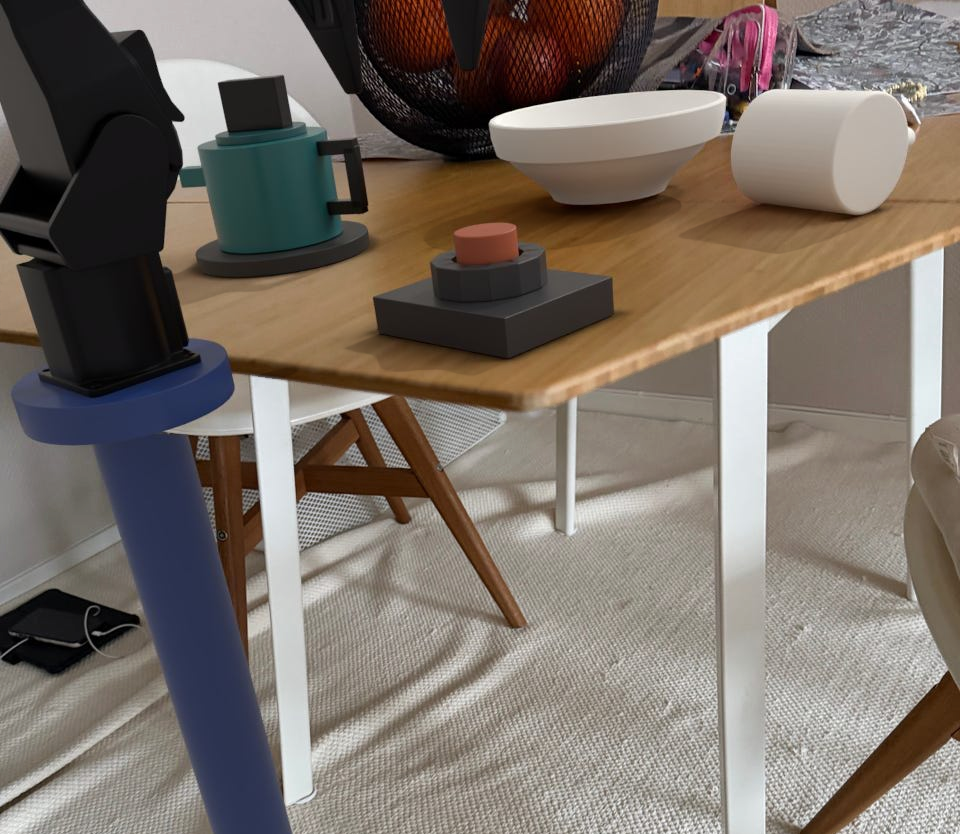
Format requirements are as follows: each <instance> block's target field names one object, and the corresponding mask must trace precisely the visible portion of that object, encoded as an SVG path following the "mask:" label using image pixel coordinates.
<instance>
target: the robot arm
mask: <svg viewBox="0 0 960 834" xmlns="http://www.w3.org/2000/svg"><path fill="white" fill-rule="evenodd" d="M287 1H288V2H289V4H290V6H291V7H292V8H293V10H294V11H295V13H296V14H297V15H298V17H299V18H300V20H301V21H302V23H303V25H304V26H305V28H306V30H307V31H308V33H309V35H310V36H311V38H312V40H313V41H314V43H315V45H316V47H317V48H318V49H319V52H320V54H322V56H323V58H324V60H325V61H326V63H327V65H328V67H329V68H330V70H331V72H332V73H333V76H334V78H335V79H336V80H337V82H338V84H339V86H340V87H341V89H342V90H343V92H344V93H345V94H346V95H359V94H361V93H362V91H363V71H362V70H363V69H362V57H361V50H360V41H359V34H358V33H359V32H358V26H357V19H356V11H355V4H354V3H355V1H354V0H287ZM491 1H492V0H440V2H441V6H442V10H443V14H444V17H445V22H446V27H447V32H448V36H449V38H450V42H451V43H450V44H451V47H452V49H453V52H454V55H455V59H456V61H457V64H458V67H459V69H460V71H461V72H463V73H465V72H466V73H467V72H475V71H476V70H477V69H478V66H479V61H480V57H481V51H482V46H483V41H484V37H485V32H486V31H485V30H486V26H487V20H488V15H489V11H490V5H491ZM0 106H1V109H2V112H3V115H4V118H5V121H6V125H7V127H8V130H9V133H10V136H11V138H12V141H13V144H14V147H15V151H16V153H17V156H18V160H19V162H18V163H17V165H16V167H15V169H14V171H13V172H12V174H11V176H10V177H9V180H8V182H7V183H6V186H5V188H4V190H3V191H2V193H1V195H0V237H1V238H2V239H3V240H4V242H5V244H6V245H7V246H8V248H9V249H10V251H11V252H12V253H13V254H15V255H18V256H27V257H30V258H32V259H30V260H27V261H24V262H21V263H20V262H19V263H17V264H15V267H16V270H17V273H18V276H19V279H20V283H21V286H22V288H23V292H24V295H25V298H26V302H27V305H28V308H29V311H30V313H31V317H32V320H33V323H34V327H35V329H36V332H37V336H38V338H39V342H40V345H41V348H42V351H43V355H44V358H45V360H46V363H47V364H46V365H48V368H44V369H42V370H39V371H38V372H37V373H38V376H39V379H40V380H41V381H43V382H46V383H49V384H52V385H55V386H58V387H61V388H63V389H66V390H69V391H72V392H75V393H78V394H81V395H83V396H86V397H89V398H97V397H102V396H105V395H108V394H111V393H114V392H116V391H119V390H122V389H125V388H128V387H131V386H134V385H137V384H140V383H143V382H146V381H149V380H151V379H154V378H157V377H160V376H163V375H166V374H169V373H172V372H175V371H178V370H181V369H183V368H186V367H189V366H192V365H195V364H198V363H200V362H201V361H202V360H201V356H200V353H199V352H195V351H192V350H188V349H184V347H187V346H188V344H189V338H190V337H189V334H188V329H187V326H186V322H185V318H184V314H183V310H182V306H181V302H180V298H179V294H178V290H177V287H176V281H175V278H174V275H173V271H172V269H171V268H170V267H167V266H164V265H163V263H162V259H161V254H160V253H161V252H163V250H164V249H165V240H166V239H165V236H166V224H167V223H166V222H167V208H168V200H169V199H170V197H171V196H172V194H173V193H174V191H175V190H176V186H177V182H178V178H179V172H180V170H181V168H184V156H183V148H182V144H181V140H180V137H179V134H178V131H177V130H178V129H176V127H175V125H174V123H183V122H184V121H185V114H184V113H183V112H182V111H181V110H180V109H179V108H178V106H177V105H176V104H175V103H174V101H172V99H171V97H170V95H169V94H168V92H167V90H166V88H165V86H164V84H163V81H162V78H161V75H160V70H159V68H158V64H157V60H156V56H155V52H154V50H153V47H152V45H151V43H150V41H149V38H148V36H147V34H146V33H145V31H144V30H142V29H131V30H123V31H122V30H121V31H113V32H110V31H109V30H108V28H107V27H106V26H105V25H104V23H102V21H101V20H100V19H99V18H98V16H97V15H95V13H94V12H93V11H92V10H91V9H90V7H89V6H88V5H87V3H86V2H85V1H84V0H0Z"/></svg>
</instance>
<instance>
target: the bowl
mask: <svg viewBox="0 0 960 834" xmlns="http://www.w3.org/2000/svg"><path fill="white" fill-rule="evenodd" d="M726 106H727V96H726V95H725V94H724V93H722V92H718V91H712V90H700V89H699V90H698V89H697V90H696V89H676V90H675V89H673V90H672V89H671V90H669V89H668V90H652V91H651V90H648V91H636V92H625V93H613V94H605V95H604V94H603V95H597V96H595V95H594V96H587V97H580V98H572V99H566V100H560V101H553V102H548V103H542V104H537V105H532V106H528V107H523V108H518V109H514V110H512V111H511V110H510V111H507V112H504V113H501V114H499V115H496V116H494V117H493V118H491V119H490V120H489V122H488V129H489V134H490V135H489V136H490V141H491V143H492V144H491V145H492V146H493V149H494V152H495V155H496V157H497V158H499V159H500V160H502V161H506V162H509V163H510V164H511V166H513V167H514V168H515V169H517V170H518V171H519V172H521V174H523V175H524V176H526V178H528V179H530V180H531V181H533V182H534V183H536V184H537V185H539V186H541V187H542V188H543V189H545V191H547V193H548V194H549V195H550V196H551V198H552V200H554V201H555V202H557V203H560V204H566V205H577V206H579V205H581V206H584V205H585V206H587V205H605V204H615V203H623V202H630V201H636V200H641V199H645V198H649V197H653V196H656V195H658V194H661V193H663V192H664V191H665V190H666V189H667V188H668V185H669V183H670V182H671V181H672V179H673V178H674V177H675V175H676V174H677V173H679V172H680V171H681V170H682V169H683V168H684V167H686V166H687V164H689V163H690V162H691V161H692V160H693V159H694V158H695V157H696V156H697V155H698V154H699V153H700V152H701V151H702V150H703V149H704V148H705V146H706V144H707V143H708V142H709V141H711V140H713V139H715V138H717V137H718V136H720V134H721V132H722V128H723V124H724V120H725V116H726V109H727V108H726Z"/></svg>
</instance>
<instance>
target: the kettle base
mask: <svg viewBox="0 0 960 834" xmlns="http://www.w3.org/2000/svg"><path fill="white" fill-rule="evenodd" d="M341 221H342V227H343V231H342V232H341V233H340V234H339V235H337V236H335V237H333V238H331V239H328V240H326V241H323V242H320V243H316V244H312V245H308V246H304V247H299V248H294V249H288V250H282V251H275V252H265V253H249V254H241V253H229V252H225V251H222V250H221V249H220V247H219V242H218V238H217V239H215V240H212V241H209V242H207V243H206V244H204V245H202V246H200V247H199V248H198V249H197V250H196V251H195V259H196V264H197V267H198V270H199V271H200V273H202V274H204V275H207V276H212V277H219V278H254V277H255V278H256V277H266V276H277V275H284V274H289V273H290V274H291V273H296V272H301V271H307V270H311V269H316V268H320V267H324V266H329V265H332V264H335V263H338V262H341V261H344V260H347V259H350V258H351V257H355V256H357V255H359V254H361V253H362V252H364V251H365V250H367V249H368V248H369V247H370V243H371V241H370V235H369V234H370V233H369V229H368V226H367V225H365V224H364V223H361V222H357V221H352V220H341Z"/></svg>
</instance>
